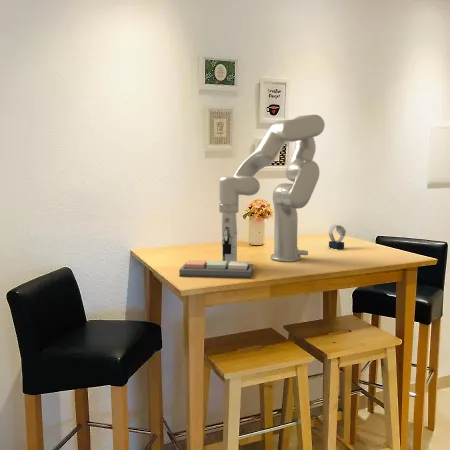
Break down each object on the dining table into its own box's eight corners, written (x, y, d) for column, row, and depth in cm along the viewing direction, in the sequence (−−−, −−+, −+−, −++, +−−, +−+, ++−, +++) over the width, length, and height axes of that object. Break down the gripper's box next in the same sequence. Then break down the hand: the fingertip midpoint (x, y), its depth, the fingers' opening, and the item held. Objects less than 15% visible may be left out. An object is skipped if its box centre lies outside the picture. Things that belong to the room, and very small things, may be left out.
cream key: (248, 265, 187) (248, 261, 187) (246, 269, 180) (246, 265, 180) (230, 264, 188) (230, 261, 187) (228, 269, 181) (228, 265, 181)
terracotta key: (206, 264, 189) (206, 260, 189) (203, 268, 182) (203, 264, 182) (188, 263, 190) (188, 260, 190) (185, 268, 183) (185, 264, 183)
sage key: (227, 264, 188) (227, 261, 188) (224, 269, 181) (224, 265, 181) (209, 264, 189) (209, 260, 188) (206, 268, 182) (206, 264, 182)
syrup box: (221, 263, 200) (221, 228, 198) (236, 263, 201) (235, 228, 198) (222, 267, 195) (222, 230, 192) (237, 266, 195) (237, 230, 193)
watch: (347, 248, 228) (348, 225, 227) (333, 250, 224) (334, 226, 223) (339, 246, 233) (339, 223, 231) (325, 248, 229) (326, 224, 228)
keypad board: (253, 270, 189) (253, 263, 189) (250, 278, 178) (250, 271, 177) (186, 268, 193) (186, 262, 193) (179, 276, 181) (179, 269, 181)
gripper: (235, 211, 185) (235, 256, 188) (240, 206, 202) (240, 247, 205) (216, 210, 186) (215, 255, 189) (222, 205, 203) (222, 247, 206)
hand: (228, 251), depth 197 cm, fingers open, 9 cm apart
